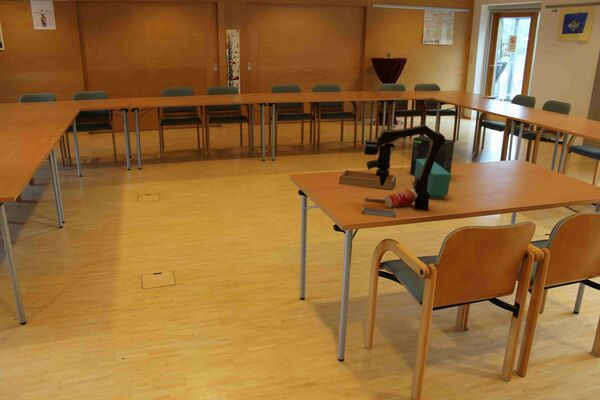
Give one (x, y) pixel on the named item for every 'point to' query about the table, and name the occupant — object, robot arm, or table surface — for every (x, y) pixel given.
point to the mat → (379, 212)
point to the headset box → (422, 149)
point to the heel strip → (374, 200)
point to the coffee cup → (400, 198)
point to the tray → (366, 179)
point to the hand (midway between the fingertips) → (381, 185)
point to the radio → (435, 179)
